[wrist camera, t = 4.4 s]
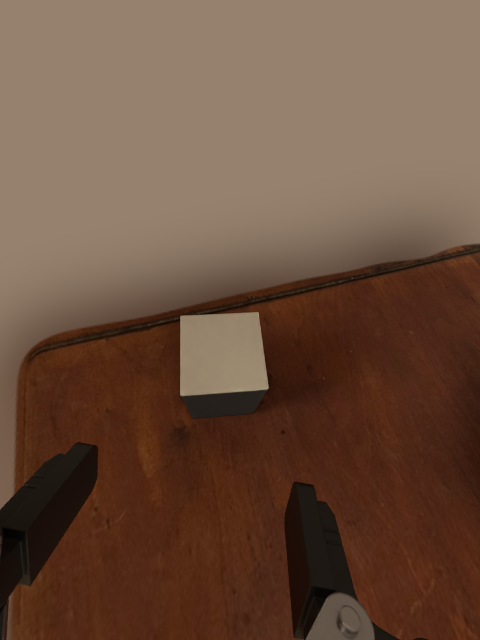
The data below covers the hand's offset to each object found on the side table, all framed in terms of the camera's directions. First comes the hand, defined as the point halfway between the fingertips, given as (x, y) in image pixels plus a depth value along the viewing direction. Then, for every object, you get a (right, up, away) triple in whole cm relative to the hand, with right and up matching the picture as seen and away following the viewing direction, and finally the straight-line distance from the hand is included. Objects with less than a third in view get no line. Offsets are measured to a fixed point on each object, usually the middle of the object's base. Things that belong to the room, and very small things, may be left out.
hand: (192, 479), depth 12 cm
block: (0, +1, +13) cm, 13 cm away
